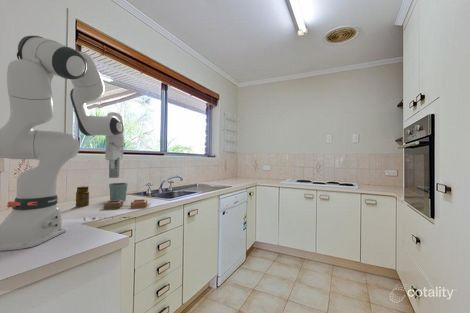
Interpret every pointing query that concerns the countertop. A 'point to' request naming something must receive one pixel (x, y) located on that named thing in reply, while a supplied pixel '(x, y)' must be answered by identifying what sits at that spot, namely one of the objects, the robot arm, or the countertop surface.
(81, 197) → the condiment
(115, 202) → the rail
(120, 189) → the drinking glass
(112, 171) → the peg
